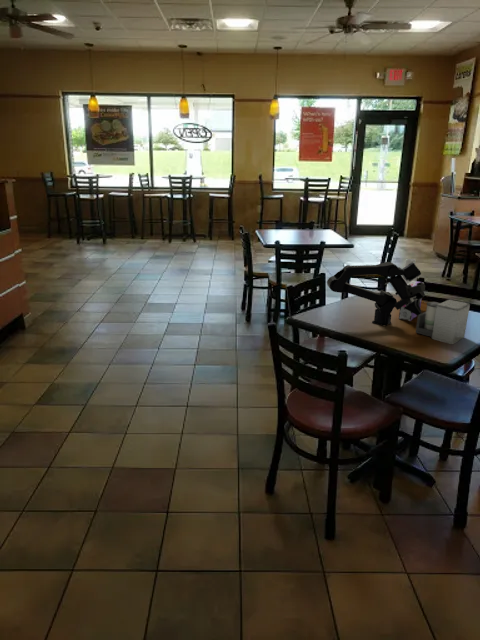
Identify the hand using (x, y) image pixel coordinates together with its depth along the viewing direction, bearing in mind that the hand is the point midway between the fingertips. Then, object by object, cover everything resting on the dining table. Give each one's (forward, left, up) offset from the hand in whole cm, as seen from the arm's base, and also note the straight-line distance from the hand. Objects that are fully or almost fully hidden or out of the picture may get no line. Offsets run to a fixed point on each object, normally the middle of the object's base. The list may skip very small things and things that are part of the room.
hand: (421, 316), depth 210 cm
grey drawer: (+5, 0, -6) cm, 8 cm away
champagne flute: (-23, +32, -7) cm, 40 cm away
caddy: (+13, 0, -7) cm, 15 cm away
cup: (+5, 0, -5) cm, 7 cm away
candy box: (-12, +15, -7) cm, 21 cm away
